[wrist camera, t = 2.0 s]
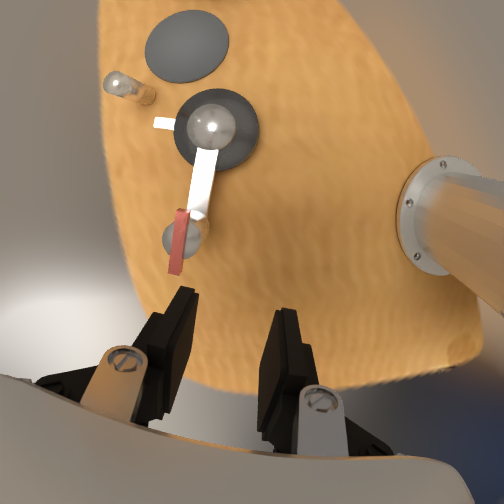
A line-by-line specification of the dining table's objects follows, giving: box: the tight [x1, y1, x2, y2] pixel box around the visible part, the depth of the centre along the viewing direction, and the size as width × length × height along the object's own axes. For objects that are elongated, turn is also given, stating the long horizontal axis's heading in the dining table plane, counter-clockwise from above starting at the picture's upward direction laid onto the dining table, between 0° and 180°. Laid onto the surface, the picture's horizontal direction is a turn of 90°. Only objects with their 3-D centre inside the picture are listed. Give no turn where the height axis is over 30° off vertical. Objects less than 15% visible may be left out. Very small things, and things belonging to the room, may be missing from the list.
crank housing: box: [103, 71, 259, 171], centre depth 22 cm, size 12×7×7 cm, turn 78°
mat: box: [145, 10, 229, 83], centre depth 22 cm, size 8×8×1 cm
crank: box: [162, 104, 237, 276], centre depth 21 cm, size 12×4×6 cm, turn 168°
